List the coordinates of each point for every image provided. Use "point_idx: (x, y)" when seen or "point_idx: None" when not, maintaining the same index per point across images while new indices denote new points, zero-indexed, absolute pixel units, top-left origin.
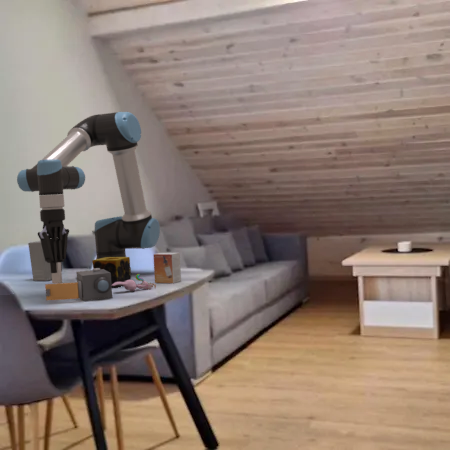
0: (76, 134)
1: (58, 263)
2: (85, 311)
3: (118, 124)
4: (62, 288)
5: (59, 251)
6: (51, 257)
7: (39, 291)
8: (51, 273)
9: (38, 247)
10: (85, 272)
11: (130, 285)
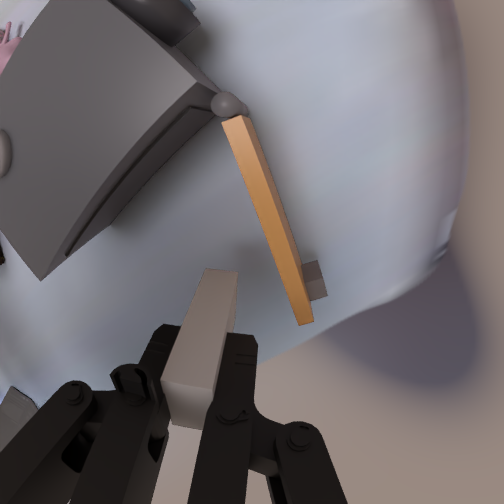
0: None
1: (204, 381)
2: (451, 9)
3: None
4: (281, 214)
5: (126, 489)
6: (316, 462)
7: (98, 387)
8: (16, 401)
9: None
10: (40, 192)
11: (16, 46)
